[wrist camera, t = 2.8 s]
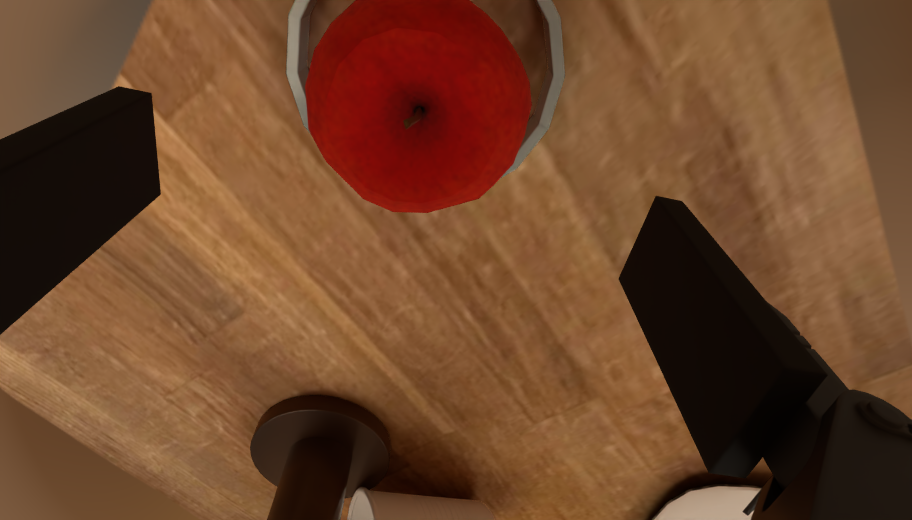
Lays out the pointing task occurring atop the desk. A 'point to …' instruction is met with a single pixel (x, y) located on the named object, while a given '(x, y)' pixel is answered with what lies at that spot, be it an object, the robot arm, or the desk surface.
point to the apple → (417, 102)
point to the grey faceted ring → (547, 96)
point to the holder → (318, 455)
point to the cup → (413, 507)
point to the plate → (710, 503)
